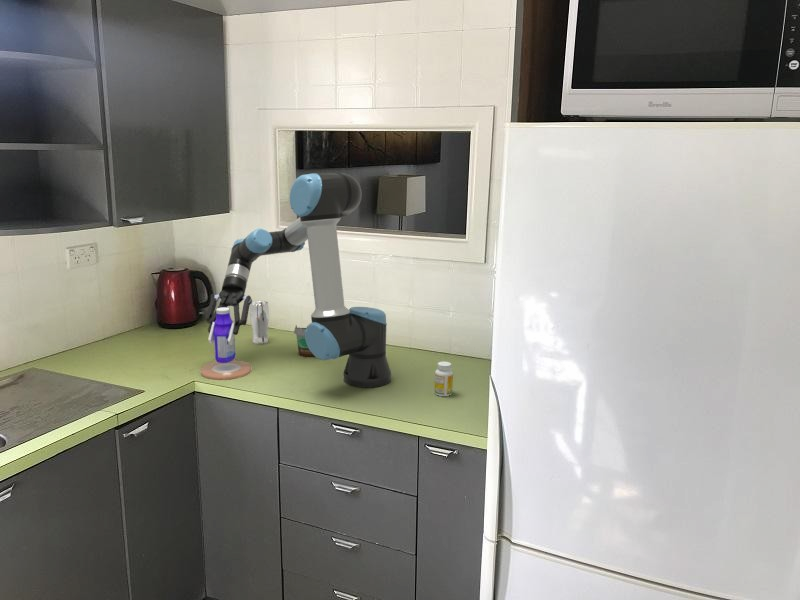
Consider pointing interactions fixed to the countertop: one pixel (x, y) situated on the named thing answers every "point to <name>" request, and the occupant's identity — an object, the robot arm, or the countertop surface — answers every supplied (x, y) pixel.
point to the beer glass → (259, 321)
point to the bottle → (223, 336)
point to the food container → (302, 343)
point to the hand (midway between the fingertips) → (220, 342)
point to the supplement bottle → (443, 379)
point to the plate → (226, 370)
